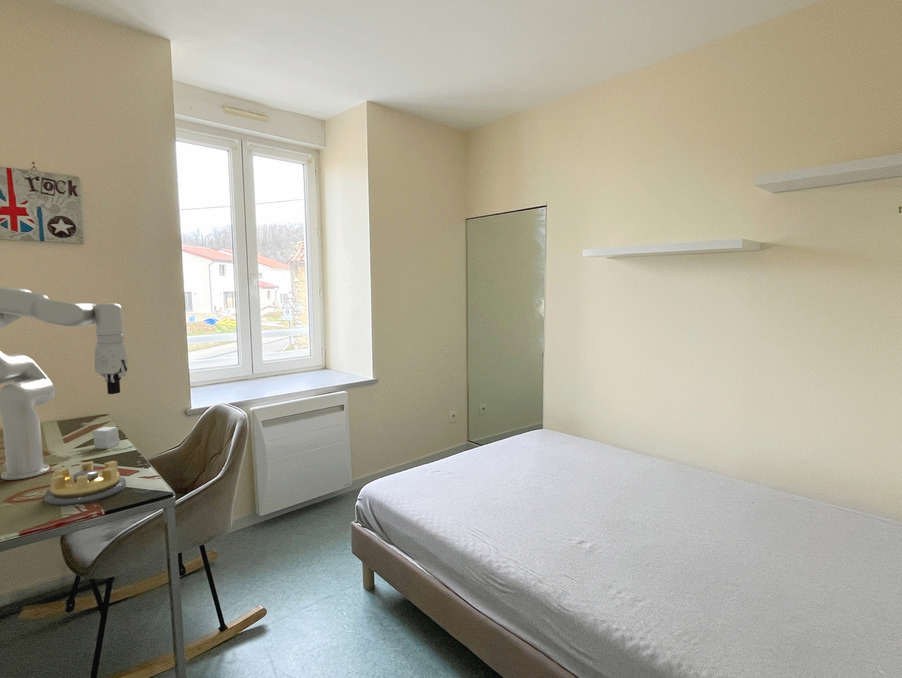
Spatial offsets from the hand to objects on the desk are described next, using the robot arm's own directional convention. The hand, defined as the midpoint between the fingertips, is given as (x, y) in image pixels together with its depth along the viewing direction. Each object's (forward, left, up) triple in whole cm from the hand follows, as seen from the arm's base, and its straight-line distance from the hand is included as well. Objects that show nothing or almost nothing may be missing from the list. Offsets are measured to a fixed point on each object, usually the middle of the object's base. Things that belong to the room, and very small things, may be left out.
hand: (114, 393), depth 167 cm
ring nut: (+9, -17, -25) cm, 32 cm away
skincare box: (-32, +19, -27) cm, 46 cm away
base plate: (+9, -17, -27) cm, 33 cm away
